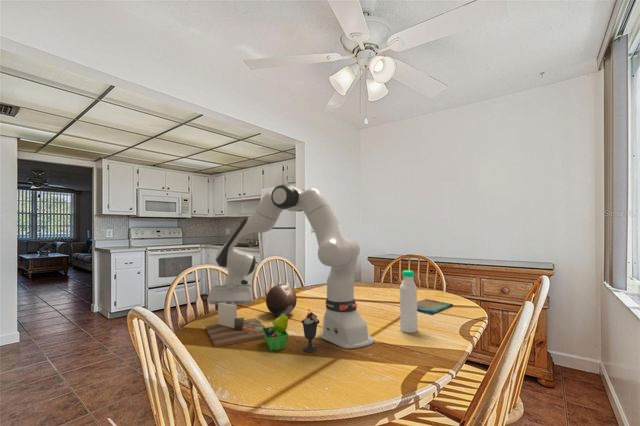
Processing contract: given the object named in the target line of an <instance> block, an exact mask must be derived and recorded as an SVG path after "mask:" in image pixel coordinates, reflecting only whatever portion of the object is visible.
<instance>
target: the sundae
mask: <svg viewBox="0 0 640 426" xmlns="http://www.w3.org/2000/svg"><path fill="white" fill-rule="evenodd" d="M300 323H302V329H303V334H304V338H305V339H306V340H307V341H308V343H307V346H305V347H304V348H303V349H302V350H303V352H306V353H315V352H317V351H318V349H317V347H316V346H313V342H312V341H313V340H314V339H315V338H316V336H317V330H318V324H320V319H318V316H317V315H316V314H314V313H313V312H311V309H310V308H309V309H308V312H307V315H306V316H305V318H303V319H302V320H301V321H300Z"/></svg>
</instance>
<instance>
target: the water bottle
mask: <svg viewBox="0 0 640 426" xmlns="http://www.w3.org/2000/svg"><path fill="white" fill-rule="evenodd" d="M401 272H402V273H401V274H402V277H403V278H402V281H401V283H400V285H399V310H400V314H399V320H400V321H399V324H400V325H399V328H400V331H401V332H403V333H407V334H414V333H417V331H418V330H419V328H418V312H417V301H418V295H417V294H418V287H417V285H416V283H415V281H414V276H415V272H414V271H413V270H409V269H407V270H402V271H401Z"/></svg>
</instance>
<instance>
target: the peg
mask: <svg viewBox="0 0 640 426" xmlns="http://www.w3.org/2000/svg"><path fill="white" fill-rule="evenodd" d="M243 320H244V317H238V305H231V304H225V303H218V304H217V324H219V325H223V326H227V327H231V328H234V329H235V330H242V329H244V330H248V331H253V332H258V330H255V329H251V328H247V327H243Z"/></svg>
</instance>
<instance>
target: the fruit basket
mask: <svg viewBox="0 0 640 426" xmlns="http://www.w3.org/2000/svg"><path fill="white" fill-rule="evenodd" d="M288 321H289V317H288V314H287V315H286V314H284V313H282V314H281V315H280V316H277V318H274V320H273V323H272V326H269V327H266V326H265V327H266V328H263V332H264V335H265V338H264V339H265V343H266V345H267V346H268V348H269V350H270V351H277V350H283V349H285V347H286V344H287V340H288V339H287V338H288V337H289V334H288V332H287V331H286V330H287V328H288V323H289V322H288Z"/></svg>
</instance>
